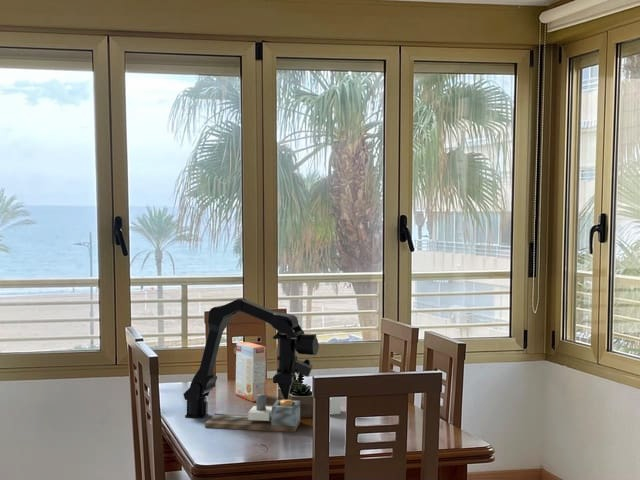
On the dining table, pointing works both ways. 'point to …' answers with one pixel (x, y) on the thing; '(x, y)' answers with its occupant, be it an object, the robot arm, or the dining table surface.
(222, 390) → the dining table surface
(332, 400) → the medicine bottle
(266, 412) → the carriage
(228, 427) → the rail board
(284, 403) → the button
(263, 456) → the dining table surface
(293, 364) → the robot arm
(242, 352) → the cracker box
